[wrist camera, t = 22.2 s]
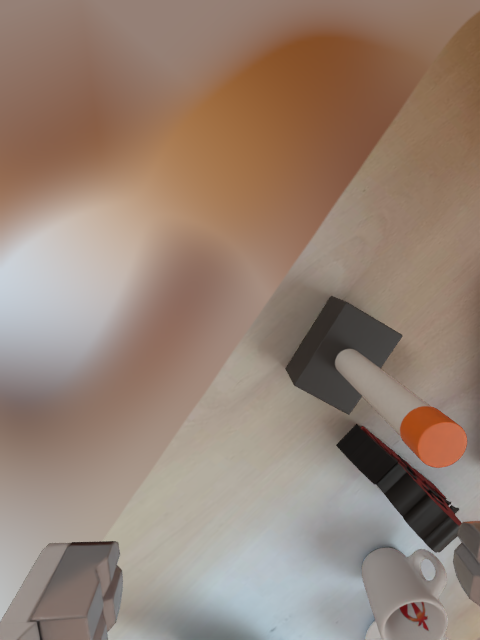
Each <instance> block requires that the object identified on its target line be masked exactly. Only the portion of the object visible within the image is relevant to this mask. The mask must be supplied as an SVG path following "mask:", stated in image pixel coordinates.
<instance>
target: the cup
mask: <svg viewBox="0 0 480 640" xmlns="http://www.w3.org/2000/svg"><path fill="white" fill-rule="evenodd" d="M424 559H429V560H430V561H431V562H432V564H433V565H434V567H435V571H436V574H435V577H434V579H433V580H431V581H427V580H426V579H425V577H424V576H423V574H422V571H421V562H422V561H423V560H424ZM362 578H363V582H364V586H365V589H366V592H367V595H368V598H369V602H370V605H371V608H372V611H373V614H374V618H375V621H376V624H377V627H378V630H379V633H380V636H381V638H382V640H441V638H442V637H443V636H444V634H445V632H446V630H447V625H448V617H447V613H446V611H445V609H444V607H443V605H442V604H441V603H440V601H439V595H440V594H441V592H442V591H443V590H444V588H445V586H446V583H447V574H446V571H445V569H444V567H443V565H442V563H441V562H440V561H439V560H438V558H437V557H436V556H434V555H433V554H432V553H431V552H429V551H427V550H425V549H419V550H417V551H415V552H414V553H413V554H412V555H411V556H409V557H406V556H405V555H404V554H403V553H401V552H400V551H398V550H396V549H393V548H379V549H376V550H374V551H372V552H371V553H370V554H369V555H368V556H367V557H366V558H365V560H364V562H363V564H362Z"/></svg>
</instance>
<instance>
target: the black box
mask: <svg viewBox="0 0 480 640" xmlns="http://www.w3.org/2000/svg"><path fill="white" fill-rule="evenodd" d="M401 338H402V335H401V334H400V333H398V332H396V331H395V330H393V329H391V328H390V327H388V326H386V325H385V324H383V323H381V322H380V321H378V320H376V319H374V318H373V317H371V316H369V315H368V314H366V313H364V312H363V311H361V310H359V309H358V308H356V307H354V306H353V305H351V304H349V303H348V302H345V301H343V300H340V299H338V298H335V297H333V296H331V297H330V298H329V300H328V301H327V303H326V305H325V306H324V308H323V309H322V311H321V313H320V314H319V316H318V317H317V319H316V321H315V322H314V324H313V325H312V327H311V329H310V330H309V332H308V333H307V335H306V337H305V338H304V340H303V341H302V343H301V345H300V346H299V348H298V349H297V351H296V353H295V354H294V356H293V357H292V359H291V361H290V362H289V364H288V365H287V367H286V371H287V372H288V374H289V376H290V378H291V380H292V382H293V384H294V386H296V387H298V388H300V389H302V390H304V391H306V392H307V393H309V394H311V395H313V396H315V397H317V398H319V399H321V400H322V401H324V402H326V403H328V404H330V405H332V406H334V407H335V408H337V409H339V410H341V411H343V412H345V413H347V414H350V413H351V411H352V410H353V408H354V407H355V406H356V404H357V403H358V401H359V400H360V398H361V397H362V395H361V394H360V393H359V392H358V391H357V390H356V389H355V388H354V387H353V386H352V385H351V384H350V383H349V382H348V381H347V380H346V379H345V378H344V377H343V376H342V375H341V373H340V372H339V371H338V370H337V369H336V366H335V360H336V357H337V355H338V354H339V353H340V352H341V351H343V350H345V349H354V350H356V351H358V352H359V353H360V354H362V355H363V356H364V357H366V358H367V359H368V360H370V361H371V362H372V363H374V364H375V365H376V366H378V367H379V368H380V369H381V367H382V366H383V364H384V363H385V361H386V360H387V358H388V357H389V355H390V354H391V352H392V351H393V349H394V348H395V346H396V345H397V343H398V342H399V341H400V339H401Z"/></svg>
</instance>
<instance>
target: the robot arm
mask: <svg viewBox="0 0 480 640" xmlns="http://www.w3.org/2000/svg"><path fill="white" fill-rule="evenodd" d="M457 536H458V537H459V539H460V540H461V542H462V543H461V544H460V545H459V546H458V547H457V548H456V549H455V551H454V559H453V564H454V568H455V572H456V576H457V578H458V580H459V582H460V584H461V587H462V588H463V590H464V591H465V593H466V594H467V596H468V597H469V599H471V600H472V601H473V602H475V603H476V604H477V605H479V606H480V521H470V522H462V524H461V525H460V526H459V528H458V533H457ZM119 556H120V550H119V544H118V542H116V541H107V542H72V543H50V544H48V545H47V546H46V547H45V548H44V549H43V550H42V552H41V553H40V555H39V557H38V558H37V560H36V562H35V563H34V565H33V567H32V569H31V570H30V572H29V574H28V575H27V577H26V579H25V581H24V582H23V584H22V586H21V587H20V589H19V591H18V592H17V594H16V596H15V598H14V599H13V601H12V603H11V604H10V606H9V608H8V610H7V611H6V613H5V615H4V616H3V618H2V620H1V622H0V640H108V635H107V632H108V631H109V630H110V629H111V628H112V626H113V625H114V624H115V623H116V620H117V616H118V613H119V609H120V603H121V597H122V590H123V576H122V570H121V569H120V568H119V567H118V566H117V562H118V559H119Z"/></svg>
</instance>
